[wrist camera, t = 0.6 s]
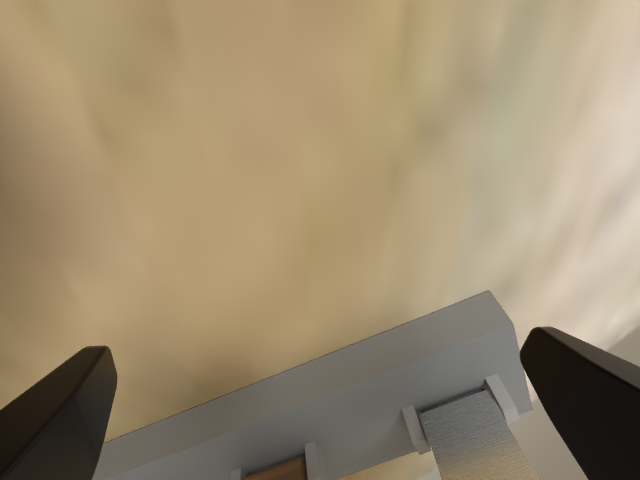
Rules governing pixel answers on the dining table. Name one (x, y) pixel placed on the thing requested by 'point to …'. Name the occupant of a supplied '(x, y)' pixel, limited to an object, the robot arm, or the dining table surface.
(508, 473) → the grey metal lever
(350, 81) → the dining table surface
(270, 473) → the walnut lever
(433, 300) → the dining table surface
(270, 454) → the long grey mounting plate
